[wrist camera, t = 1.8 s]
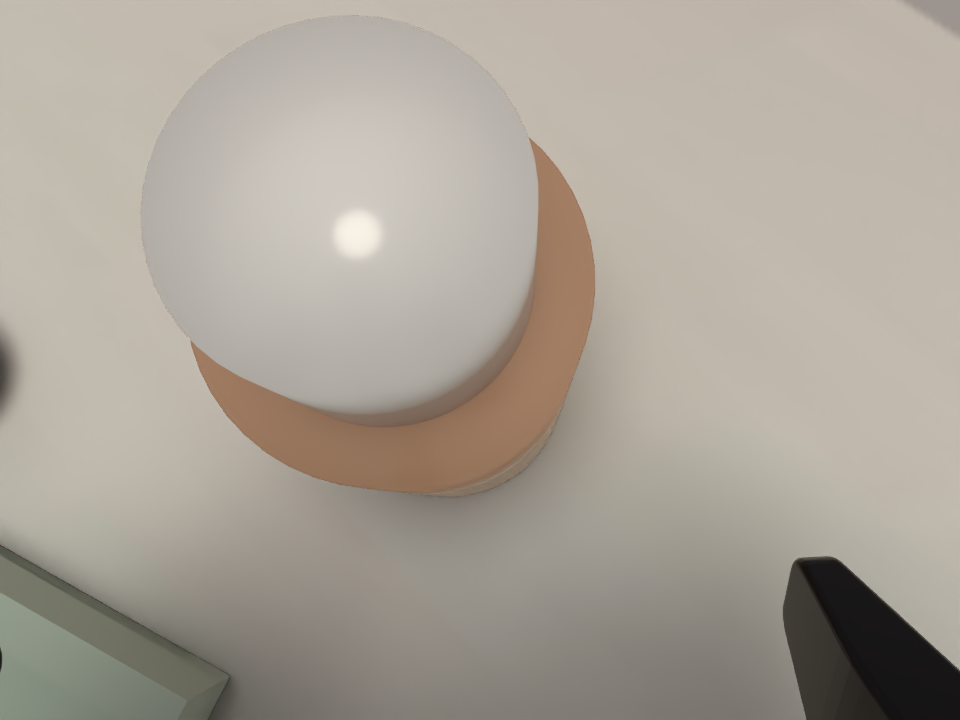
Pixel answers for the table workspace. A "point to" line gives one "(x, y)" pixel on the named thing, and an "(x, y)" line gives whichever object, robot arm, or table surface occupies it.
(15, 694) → the tray
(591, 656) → the table surface
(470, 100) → the shaker
